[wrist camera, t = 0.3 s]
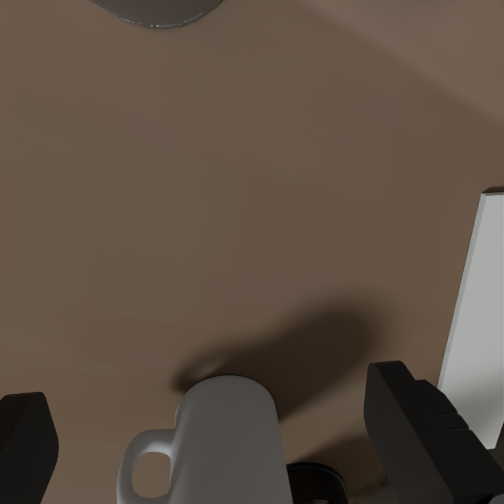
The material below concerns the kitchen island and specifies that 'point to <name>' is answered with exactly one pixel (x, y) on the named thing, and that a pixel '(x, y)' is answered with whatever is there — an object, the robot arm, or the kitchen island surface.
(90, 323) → the kitchen island surface
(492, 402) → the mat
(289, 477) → the french press
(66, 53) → the kitchen island surface
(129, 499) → the mug
